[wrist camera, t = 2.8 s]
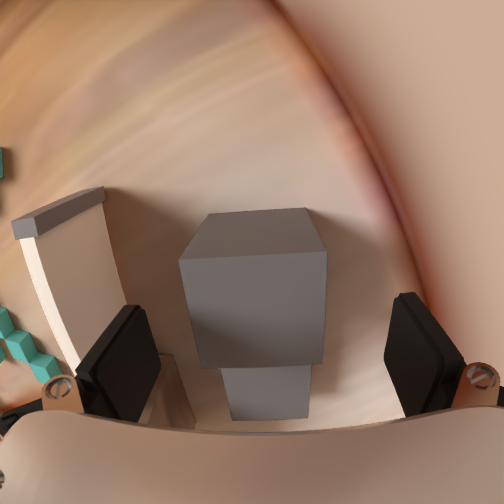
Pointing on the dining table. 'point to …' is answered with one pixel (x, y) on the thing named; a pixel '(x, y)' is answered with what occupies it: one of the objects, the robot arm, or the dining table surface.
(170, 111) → the dining table surface
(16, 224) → the gate
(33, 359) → the alien figure
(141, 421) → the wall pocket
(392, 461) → the robot arm
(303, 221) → the grey stepped block
